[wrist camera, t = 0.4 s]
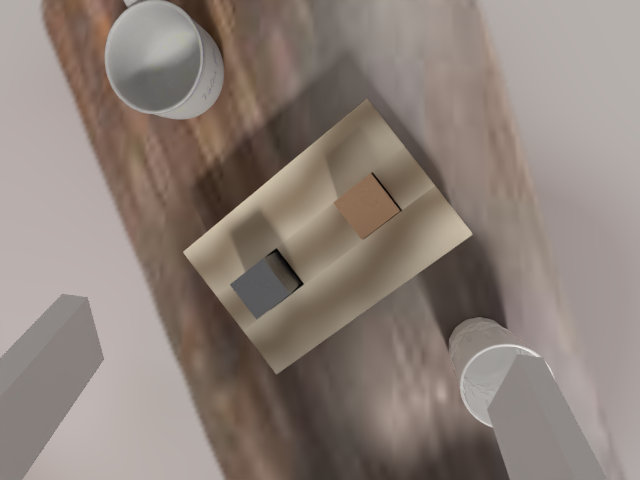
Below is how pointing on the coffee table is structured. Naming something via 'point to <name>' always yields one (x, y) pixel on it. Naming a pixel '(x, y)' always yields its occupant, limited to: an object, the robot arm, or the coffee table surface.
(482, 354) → the white cup
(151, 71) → the teacup
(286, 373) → the coffee table surface
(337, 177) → the press block
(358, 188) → the brown wooden peg
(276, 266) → the graphite peg
